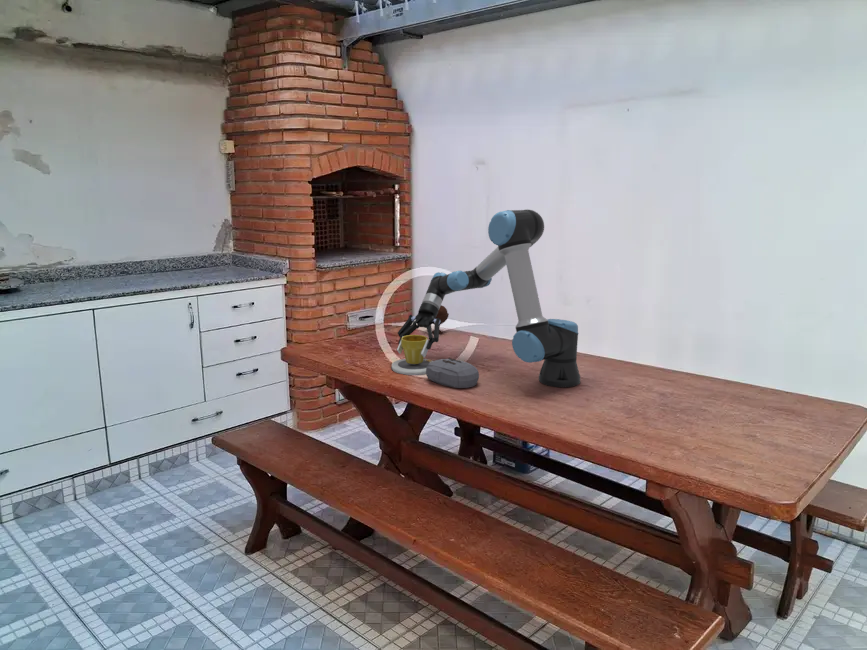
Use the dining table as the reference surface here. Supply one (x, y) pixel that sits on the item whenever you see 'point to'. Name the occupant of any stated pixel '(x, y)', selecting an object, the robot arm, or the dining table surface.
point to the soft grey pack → (452, 373)
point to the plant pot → (413, 348)
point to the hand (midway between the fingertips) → (410, 353)
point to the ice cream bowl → (441, 316)
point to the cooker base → (410, 367)
